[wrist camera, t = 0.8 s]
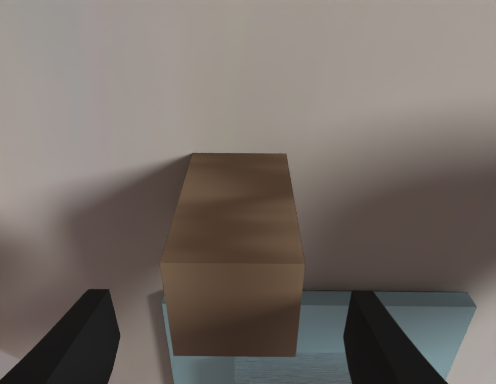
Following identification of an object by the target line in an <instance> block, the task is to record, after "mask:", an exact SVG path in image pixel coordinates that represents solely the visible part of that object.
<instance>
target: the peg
mask: <svg viewBox="0 0 496 384" xmlns="http://www.w3.org/2000/svg"><path fill="white" fill-rule="evenodd" d="M160 268H161V275H162V282H163V288H164V295H165V302H166V309H167V315H168V322H169V329H170V336H171V343H172V349H173V356H224V357H296V349H297V339H298V329H299V319H300V310H301V300H302V290H303V280H304V271H305V260H304V254H303V248H302V243H301V237H300V231H299V225H298V219H297V213H296V208H295V202H294V196H293V190H292V184H291V178H290V173H289V167H288V161H287V155H286V154H263V153H192V157H191V160H190V163H189V167H188V170H187V173H186V177H185V180H184V183H183V187H182V190H181V193H180V197H179V200H178V203H177V207H176V210H175V213H174V217H173V220H172V223H171V227H170V230H169V234H168V237H167V240H166V244H165V247H164V250H163V254H162V257H161V260H160Z"/></svg>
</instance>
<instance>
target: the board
mask: <svg viewBox="0 0 496 384" xmlns="http://www.w3.org/2000/svg"><path fill="white" fill-rule="evenodd" d="M351 292H352V291H302V300H301V310H300V319H299V329H298V339H297V349H296V352H317V353H345V347H344V340H343V334H344V329H345V324H346V318H347V313H348V308H349V303H350V298H351ZM374 293H375V294H376V295H377V297H378V298H379V299H380V301H381V302H382V304H383V305H384V306H385V308H386V309H387V310H388V312H389V313H390V314H391V316H392V317H393V318H394V320H395V321H396V322H397V324H398V325H399V326H400V327H401V329H402V330H403V331H404V333H405V334H406V335H407V336H408V338H409V339H410V340H411V341H412V343H413V344H414V345H415V346H416V347H417V349H418V350H419V351H420V352H421V353H422V355H423V356H424V357H425V358H426V359H427V361H428V362H429V363H430V364H431V365H432V366H433V367H434V369H435V370H436V371H437V372H438V373H439V374H440V375H441V376H442V377H443V379H444V380H446V377H447V375H448V373H449V370H450V368H451V366H452V363H453V361H454V359H455V356H456V354H457V352H458V349H459V347H460V345H461V342H462V340H463V338H464V335H465V333H466V331H467V328H468V326H469V324H470V321H471V319H472V317H473V314H474V312H475V310H476V308H477V307H476V305H475V303H474V302H473V300H472V299H471V297H470V296H469V294H468V292H374ZM162 310H163V316H164V323H165V329H166V335H167V342H168V348H169V355H170V361H171V367H172V374H173V380H174V384H234V368H235V357H224V356H173V349H172V343H171V336H170V329H169V322H168V315H167V309H166V302H165V295H164V297H163V301H162Z"/></svg>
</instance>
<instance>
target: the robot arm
mask: <svg viewBox="0 0 496 384" xmlns="http://www.w3.org/2000/svg"><path fill="white" fill-rule="evenodd" d="M119 340H120V332H119V328H118V324H117V320H116V316H115V311H114V307H113V303H112V299H111V295H110V291H109V289H88V290H87V291H86V292H85V293H84V294H83V295H82V297H81V298H80V299H79V300H78V301H77V302H76V303H75V304H74V305H73V306H72V307H71V309H70V310H69V311H68V312H67V313H66V314H65V315H64V316H63V317H62V318H61V319H60V321H59V322H58V323H57V324H56V325H55V326H54V327H53V328H52V329H51V330H50V331H49V332H48V333H47V334H46V335H45V336H44V337H43V338H42V340H41V341H40V342H39V343H38V344H37V345H36V346H35V347H34V348H33V349H32V350H31V351H30V352H29V353H28V354H27V355H26V356H25V357H24V358H23V359H22V360H21V361H20V362H19V363H18V364H16V365H15V366H14V367H13V368H12V369H11V370H10V371H9V372H8V373H7V374H6V375H5V376H4V377H3V378H2V379H1V380H0V384H108V381H109V378H110V375H111V373H112V370H113V366H114V362H115V358H116V353H117V349H118V344H119ZM343 340H344V347H345V353H346V359H347V365H348V370H349V374H350V378H351V382H352V384H448V383H447V382H446V381H445V380H444V379H443V377H442V376H441V375H440V374H439V373H438V372H437V371H436V370H435V369H434V367H433V366H432V365H431V364H430V363H429V362H428V361H427V359H426V358H425V357H424V356H423V355H422V353H421V352H420V351H419V350H418V349H417V347H416V346H415V345H414V344H413V343H412V341H411V340H410V339H409V338H408V336H407V335H406V334H405V333H404V331H403V330H402V329H401V327H400V326H399V325H398V324H397V322H396V321H395V320H394V318H393V317H392V316H391V314H390V313H389V312H388V310H387V309H386V308H385V306H384V305H383V304H382V302H381V301H380V299H379V298H378V297H377V295H376V294H375V293H374V292H373V291H352V292H351V298H350V303H349V308H348V313H347V318H346V324H345V329H344V334H343Z"/></svg>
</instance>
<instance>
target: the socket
mask: <svg viewBox="0 0 496 384" xmlns="http://www.w3.org/2000/svg"><path fill="white" fill-rule="evenodd" d="M234 384H352V382H351V378H350V374H349V370H348V365H347V359H346V353H317V352H296V357H235V368H234Z"/></svg>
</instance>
